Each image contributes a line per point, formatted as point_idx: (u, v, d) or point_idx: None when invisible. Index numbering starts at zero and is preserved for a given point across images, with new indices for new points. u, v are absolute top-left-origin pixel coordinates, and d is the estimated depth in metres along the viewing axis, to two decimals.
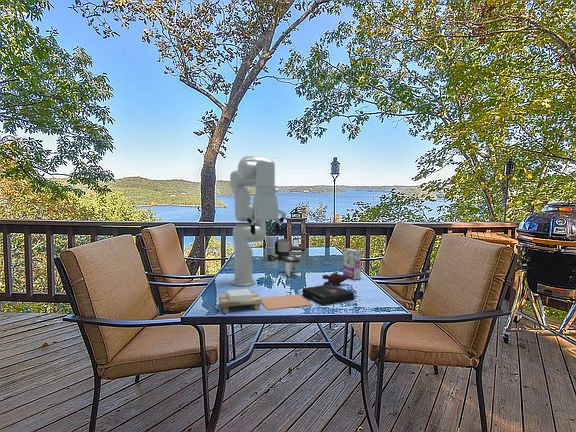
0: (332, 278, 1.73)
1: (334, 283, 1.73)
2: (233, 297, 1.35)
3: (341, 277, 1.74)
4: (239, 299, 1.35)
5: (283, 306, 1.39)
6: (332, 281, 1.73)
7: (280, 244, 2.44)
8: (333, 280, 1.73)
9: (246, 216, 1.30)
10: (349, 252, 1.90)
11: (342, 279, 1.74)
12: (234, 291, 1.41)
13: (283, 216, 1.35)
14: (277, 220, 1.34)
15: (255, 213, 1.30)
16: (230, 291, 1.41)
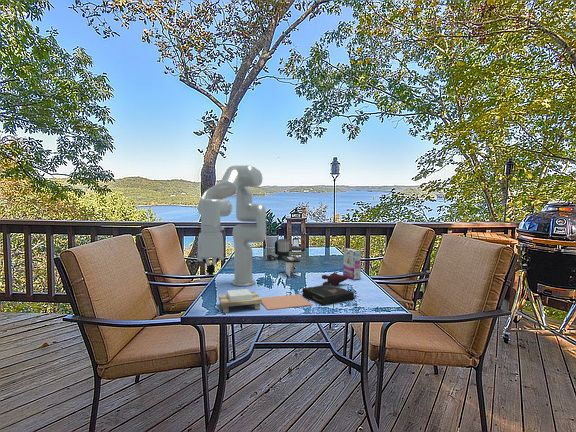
0: (331, 278, 1.73)
1: (333, 283, 1.73)
2: (233, 297, 1.35)
3: (340, 277, 1.74)
4: (239, 299, 1.35)
5: (283, 306, 1.39)
6: (331, 281, 1.73)
7: (280, 244, 2.44)
8: (332, 280, 1.72)
9: (200, 259, 1.33)
10: (349, 252, 1.90)
11: (341, 279, 1.74)
12: (234, 291, 1.41)
13: (220, 258, 1.36)
14: (214, 260, 1.34)
15: (199, 251, 1.32)
16: (230, 291, 1.41)
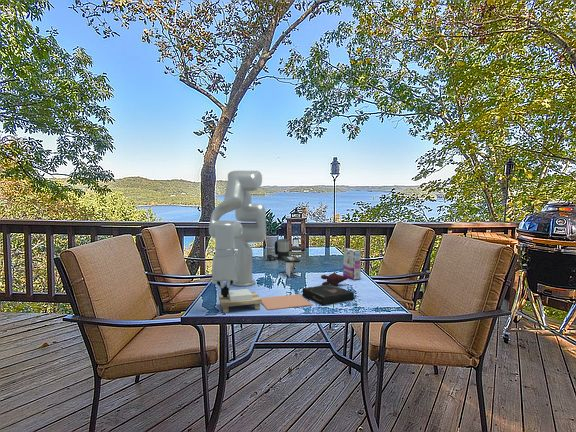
0: (330, 278, 1.73)
1: (332, 283, 1.73)
2: (233, 297, 1.35)
3: (340, 277, 1.74)
4: (239, 299, 1.35)
5: (283, 306, 1.39)
6: (330, 281, 1.73)
7: (280, 244, 2.44)
8: (331, 280, 1.72)
9: (215, 282, 1.36)
10: (349, 252, 1.90)
11: (341, 279, 1.74)
12: (234, 291, 1.41)
13: (234, 281, 1.38)
14: (228, 283, 1.37)
15: (214, 275, 1.34)
16: (230, 291, 1.41)
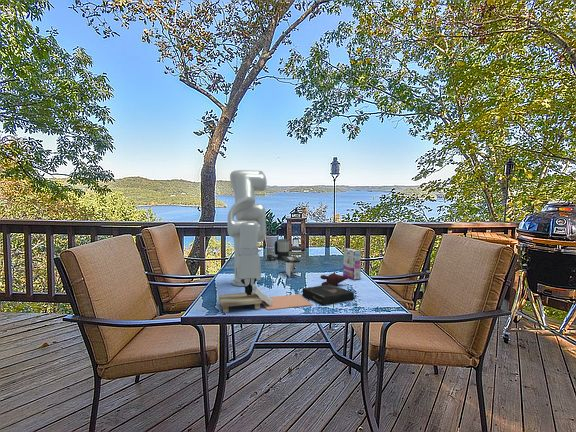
0: (330, 278, 1.73)
1: (332, 283, 1.73)
2: (259, 292, 1.38)
3: (339, 277, 1.74)
4: (262, 297, 1.38)
5: (283, 306, 1.39)
6: (330, 281, 1.72)
7: (280, 244, 2.44)
8: (331, 280, 1.72)
9: (239, 280, 1.39)
10: (349, 252, 1.90)
11: (340, 279, 1.74)
12: (259, 289, 1.45)
13: (257, 279, 1.42)
14: (252, 281, 1.40)
15: (238, 273, 1.37)
16: (256, 286, 1.45)
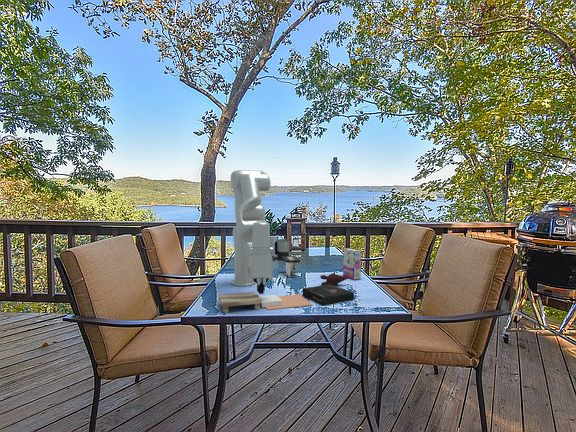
0: (330, 278, 1.72)
1: (332, 283, 1.72)
2: (264, 303, 1.38)
3: (339, 277, 1.73)
4: (270, 305, 1.39)
5: (283, 306, 1.39)
6: (330, 281, 1.72)
7: (280, 244, 2.44)
8: (331, 280, 1.72)
9: (251, 279, 1.41)
10: (349, 252, 1.90)
11: (340, 279, 1.73)
12: (263, 297, 1.45)
13: (269, 278, 1.43)
14: (264, 280, 1.42)
15: (251, 272, 1.39)
16: None
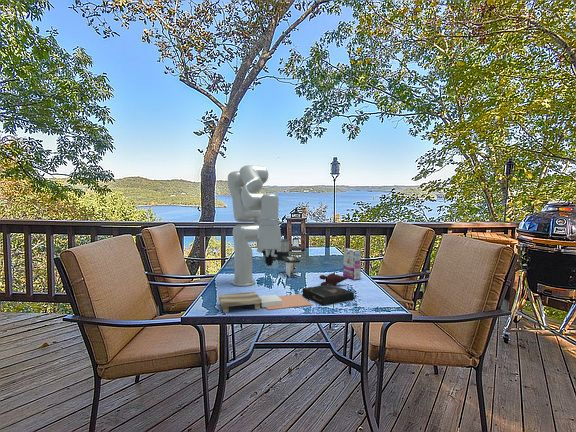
0: (329, 278, 1.72)
1: (331, 283, 1.72)
2: (264, 303, 1.38)
3: (338, 278, 1.73)
4: (270, 305, 1.39)
5: (283, 306, 1.39)
6: (329, 281, 1.72)
7: None
8: (330, 280, 1.72)
9: (260, 251, 1.42)
10: (349, 252, 1.90)
11: (339, 280, 1.73)
12: (263, 297, 1.45)
13: (277, 250, 1.44)
14: (273, 252, 1.43)
15: (260, 244, 1.40)
16: None
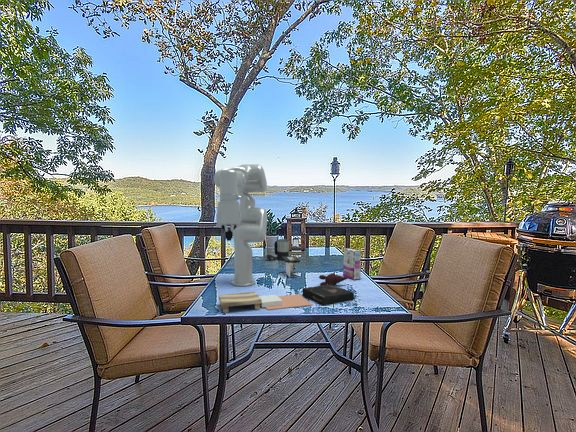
0: (329, 278, 1.72)
1: (331, 283, 1.72)
2: (264, 303, 1.38)
3: (338, 278, 1.73)
4: (270, 305, 1.39)
5: (283, 306, 1.39)
6: (328, 281, 1.72)
7: (279, 244, 2.44)
8: (329, 280, 1.72)
9: (219, 226, 1.44)
10: (349, 252, 1.90)
11: (339, 280, 1.73)
12: (263, 297, 1.45)
13: (237, 225, 1.47)
14: (232, 227, 1.45)
15: (219, 218, 1.42)
16: None
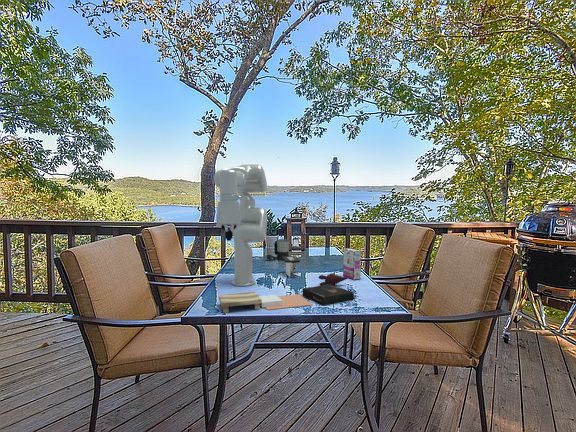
0: (328, 278, 1.72)
1: None
2: (264, 303, 1.38)
3: (338, 278, 1.73)
4: (270, 305, 1.39)
5: (283, 306, 1.39)
6: (328, 281, 1.72)
7: (279, 244, 2.44)
8: (329, 280, 1.72)
9: (219, 226, 1.44)
10: (349, 252, 1.90)
11: (339, 280, 1.73)
12: (263, 297, 1.45)
13: (237, 225, 1.47)
14: (232, 227, 1.45)
15: (218, 218, 1.42)
16: None
